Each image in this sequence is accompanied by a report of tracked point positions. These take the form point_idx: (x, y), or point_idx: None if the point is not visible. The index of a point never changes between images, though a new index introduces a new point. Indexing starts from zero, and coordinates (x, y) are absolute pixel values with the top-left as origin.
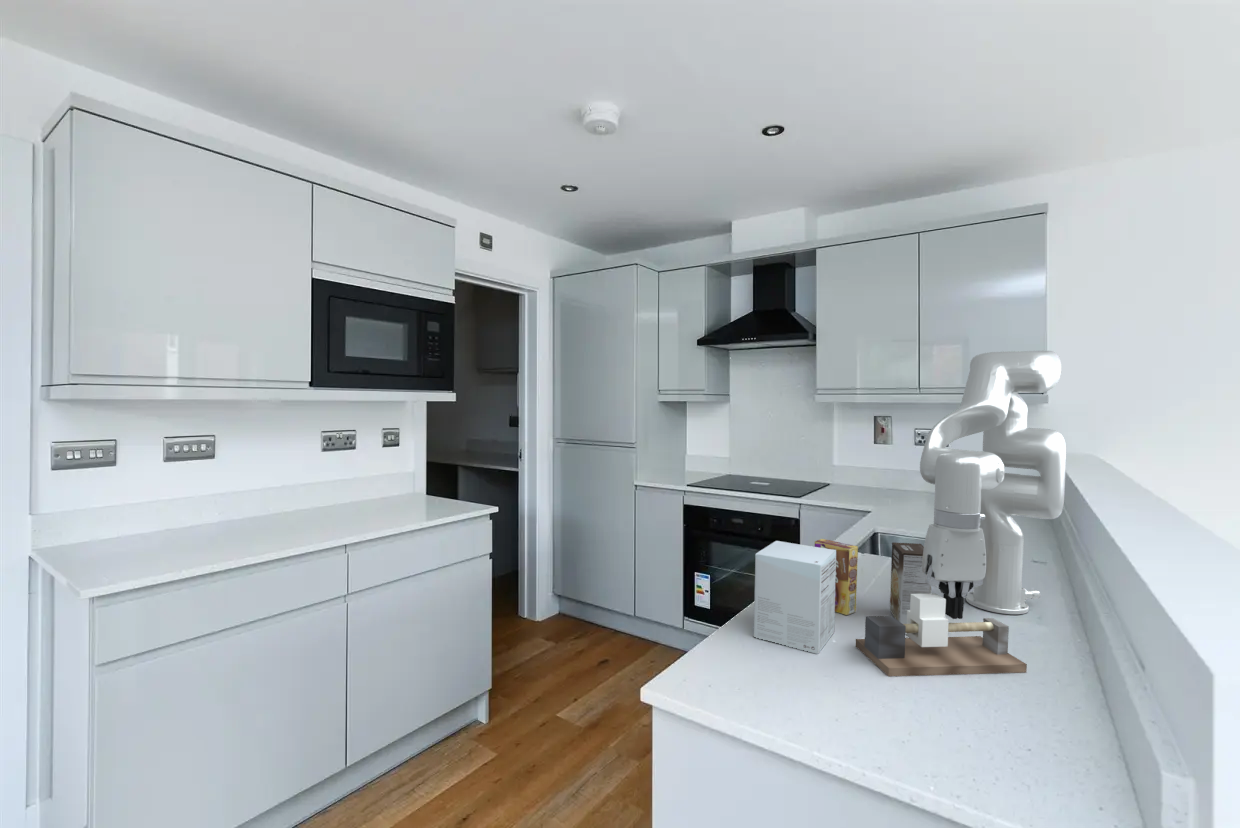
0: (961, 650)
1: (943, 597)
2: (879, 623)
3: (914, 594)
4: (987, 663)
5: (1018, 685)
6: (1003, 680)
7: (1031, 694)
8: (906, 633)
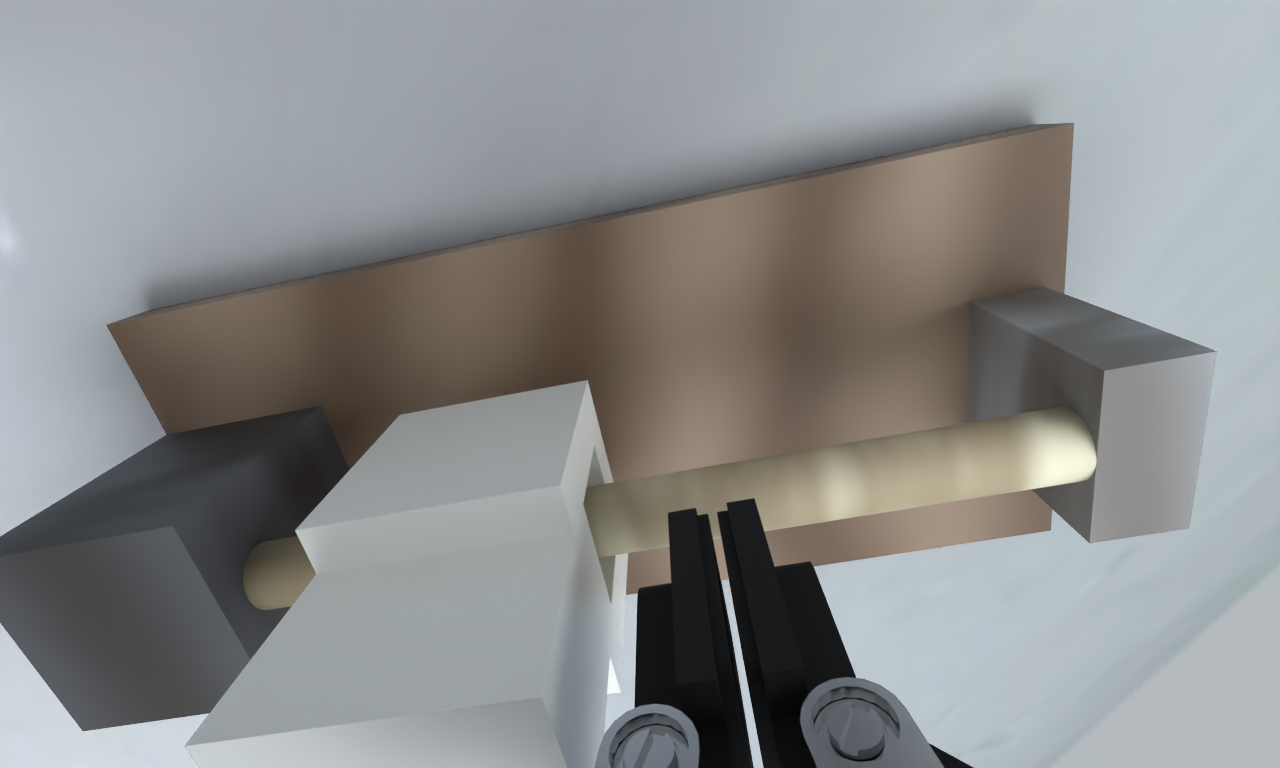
0: (766, 405)
1: (635, 696)
2: (81, 684)
3: (231, 762)
4: (824, 547)
5: (878, 621)
6: (838, 588)
7: (880, 680)
8: (394, 425)
